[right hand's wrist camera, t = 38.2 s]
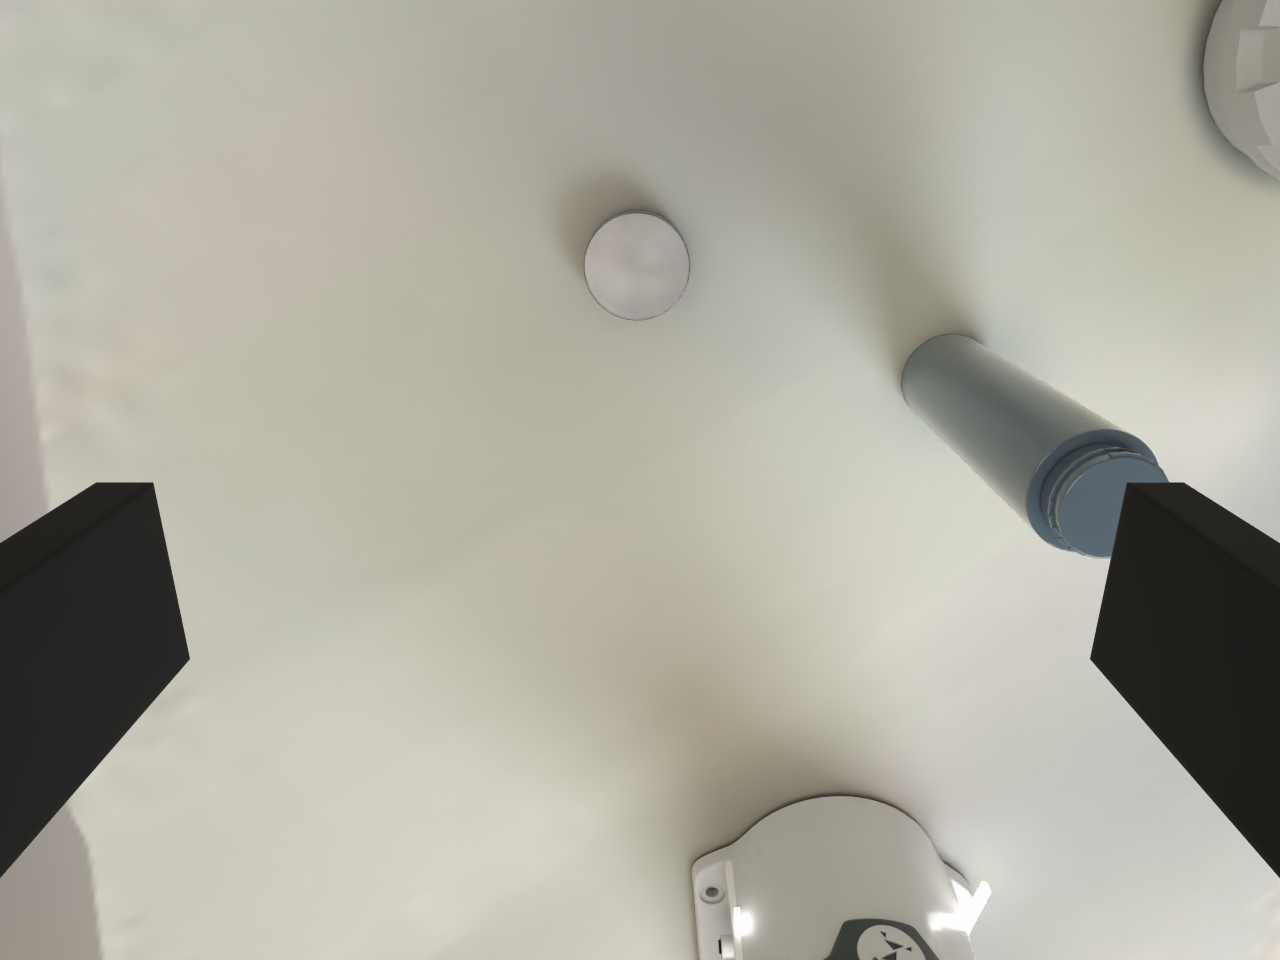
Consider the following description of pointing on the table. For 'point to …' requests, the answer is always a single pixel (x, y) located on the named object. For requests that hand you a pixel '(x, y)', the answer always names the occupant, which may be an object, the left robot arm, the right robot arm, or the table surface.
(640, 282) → the lid
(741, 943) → the left robot arm
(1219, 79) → the flag stand
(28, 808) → the right robot arm
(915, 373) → the jar
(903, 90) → the table surface
